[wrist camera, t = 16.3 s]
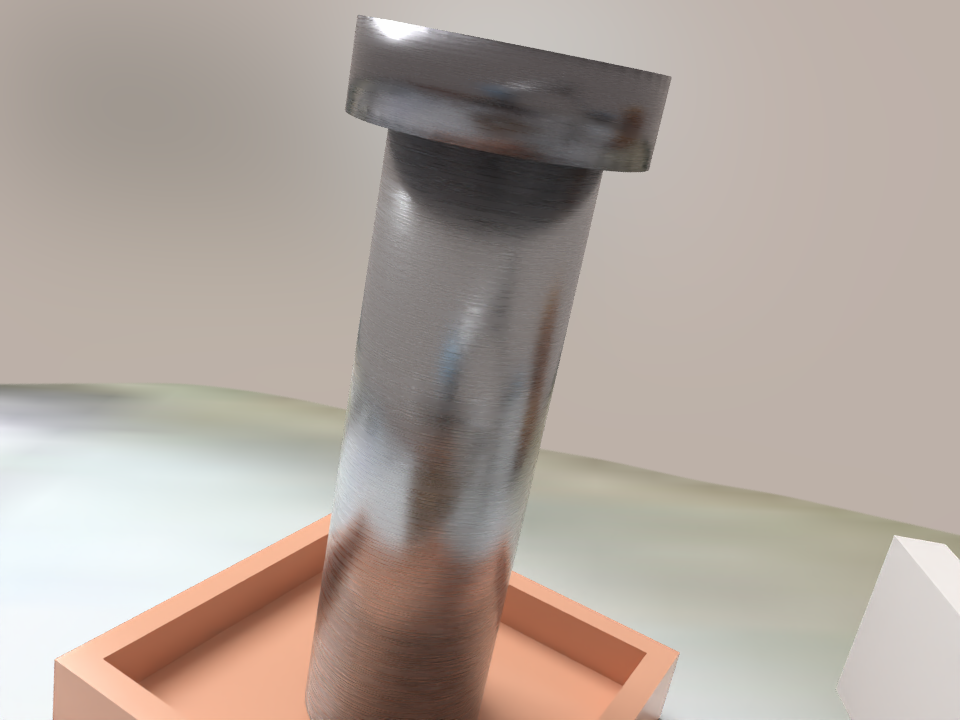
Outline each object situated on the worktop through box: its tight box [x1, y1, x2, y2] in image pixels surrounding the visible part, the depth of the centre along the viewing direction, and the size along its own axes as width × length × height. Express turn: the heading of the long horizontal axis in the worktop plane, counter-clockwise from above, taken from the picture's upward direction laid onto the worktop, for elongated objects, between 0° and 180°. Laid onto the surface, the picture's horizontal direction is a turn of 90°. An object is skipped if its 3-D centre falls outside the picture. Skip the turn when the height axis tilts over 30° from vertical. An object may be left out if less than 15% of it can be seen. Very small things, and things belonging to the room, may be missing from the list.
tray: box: [53, 513, 680, 720], centre depth 25 cm, size 13×13×2 cm
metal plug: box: [305, 15, 671, 720], centre depth 23 cm, size 7×7×18 cm
